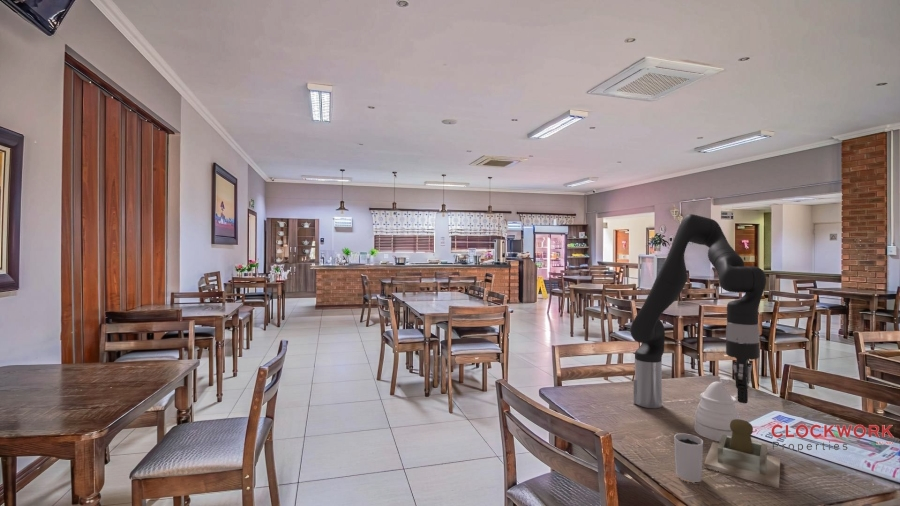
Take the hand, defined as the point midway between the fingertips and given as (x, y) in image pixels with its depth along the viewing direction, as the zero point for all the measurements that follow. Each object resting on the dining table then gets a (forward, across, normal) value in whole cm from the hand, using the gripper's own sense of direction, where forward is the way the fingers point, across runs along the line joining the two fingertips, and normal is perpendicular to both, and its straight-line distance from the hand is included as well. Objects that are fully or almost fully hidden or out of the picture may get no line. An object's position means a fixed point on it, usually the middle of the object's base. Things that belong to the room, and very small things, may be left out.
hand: (742, 402), depth 115 cm
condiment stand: (+17, 0, 0) cm, 17 cm away
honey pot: (+18, -19, -8) cm, 27 cm away
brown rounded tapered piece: (+16, 0, 0) cm, 16 cm away
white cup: (+18, +16, -11) cm, 26 cm away
